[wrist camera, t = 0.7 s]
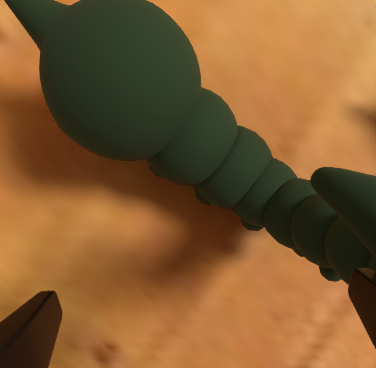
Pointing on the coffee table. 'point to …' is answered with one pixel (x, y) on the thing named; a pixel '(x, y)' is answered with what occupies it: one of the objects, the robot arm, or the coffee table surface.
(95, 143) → the toy figurine
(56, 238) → the coffee table surface
